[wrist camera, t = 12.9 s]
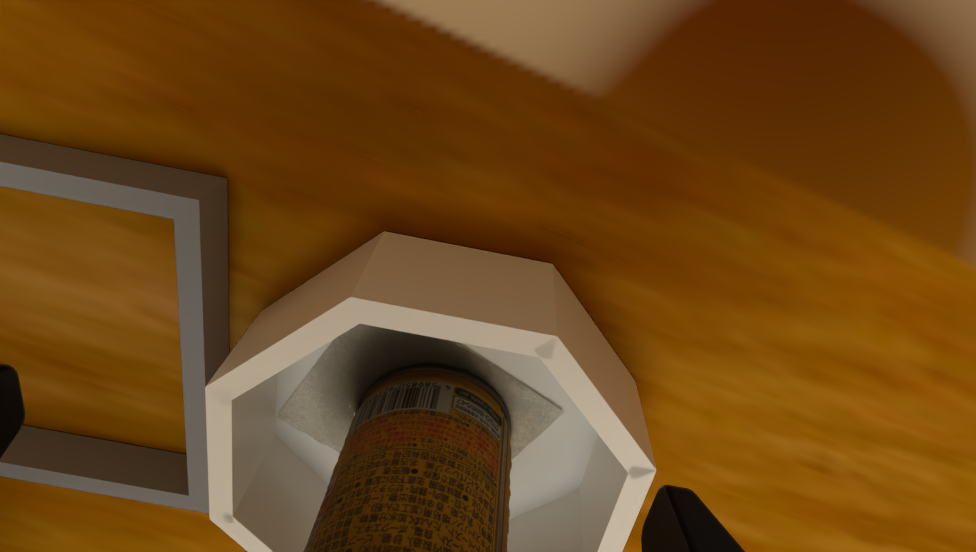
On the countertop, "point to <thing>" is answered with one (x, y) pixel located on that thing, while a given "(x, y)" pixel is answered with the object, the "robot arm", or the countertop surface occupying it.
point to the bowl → (468, 323)
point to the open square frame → (201, 320)
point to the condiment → (414, 443)
